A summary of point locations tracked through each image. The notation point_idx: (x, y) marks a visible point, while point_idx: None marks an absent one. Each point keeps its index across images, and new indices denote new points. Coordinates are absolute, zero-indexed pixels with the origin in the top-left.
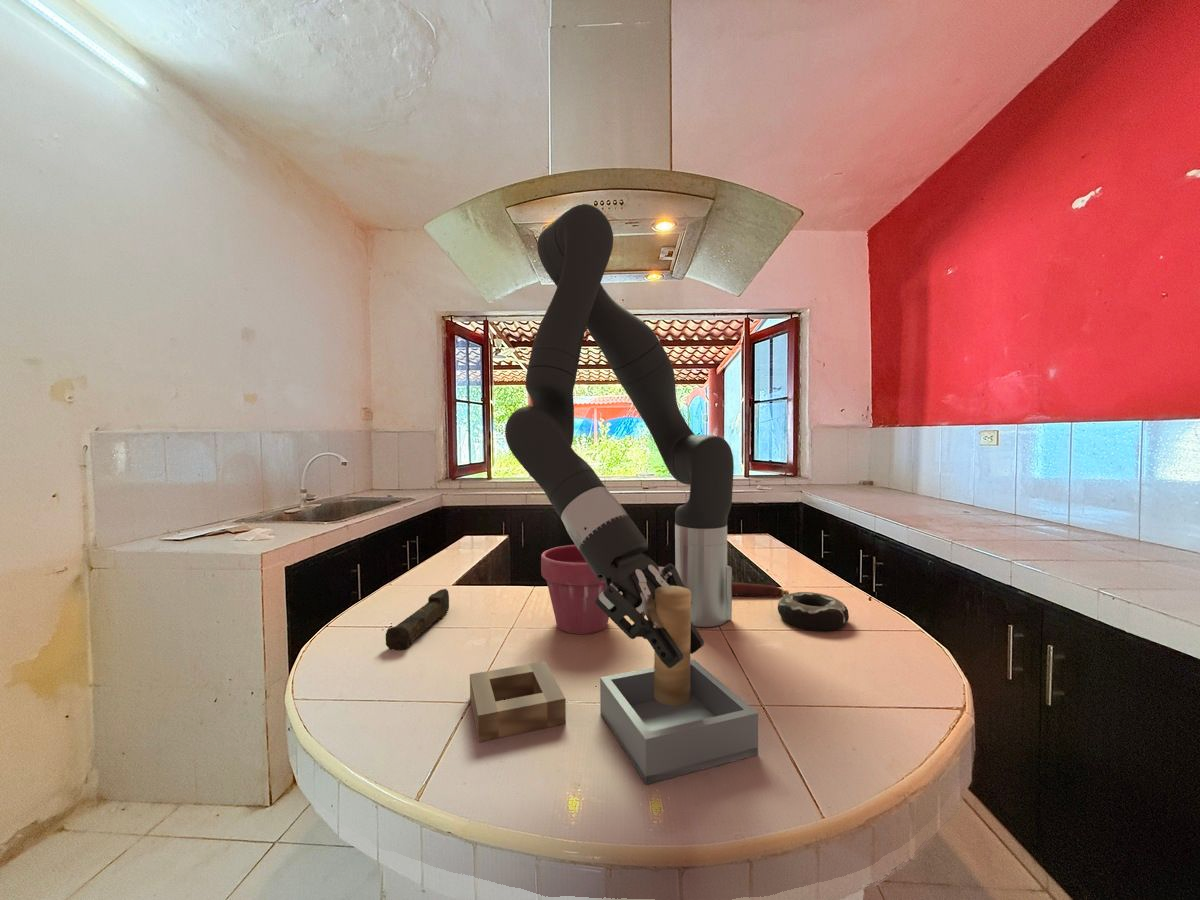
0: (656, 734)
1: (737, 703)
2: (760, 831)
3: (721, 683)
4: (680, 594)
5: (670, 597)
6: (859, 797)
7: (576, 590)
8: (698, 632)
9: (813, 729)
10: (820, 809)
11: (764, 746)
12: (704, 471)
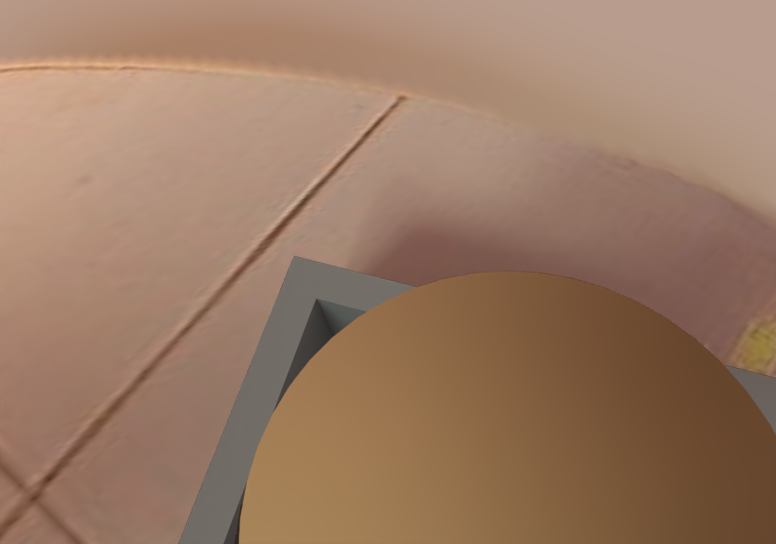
0: (749, 387)
1: (296, 343)
2: (565, 145)
3: (201, 503)
4: (521, 351)
5: (711, 359)
6: (272, 87)
7: None
8: (239, 520)
9: (64, 294)
10: (383, 112)
11: None
12: None
